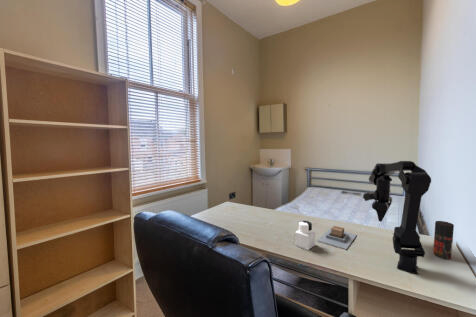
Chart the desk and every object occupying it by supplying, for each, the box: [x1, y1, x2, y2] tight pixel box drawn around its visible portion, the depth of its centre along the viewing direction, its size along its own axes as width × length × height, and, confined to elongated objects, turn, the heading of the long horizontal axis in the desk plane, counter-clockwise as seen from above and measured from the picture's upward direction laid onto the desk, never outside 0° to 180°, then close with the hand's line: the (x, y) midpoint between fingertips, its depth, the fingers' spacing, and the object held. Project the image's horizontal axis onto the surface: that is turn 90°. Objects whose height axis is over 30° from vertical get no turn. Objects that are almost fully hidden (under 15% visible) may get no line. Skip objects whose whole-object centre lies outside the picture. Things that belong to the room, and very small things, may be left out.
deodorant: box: [432, 220, 455, 261], centre depth 97 cm, size 6×6×15 cm
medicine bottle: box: [294, 220, 316, 251], centre depth 109 cm, size 7×7×12 cm
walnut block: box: [330, 225, 345, 239], centre depth 116 cm, size 5×5×5 cm
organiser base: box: [316, 227, 358, 250], centre depth 116 cm, size 20×14×2 cm
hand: (381, 218), depth 111 cm, fingers open, 9 cm apart
